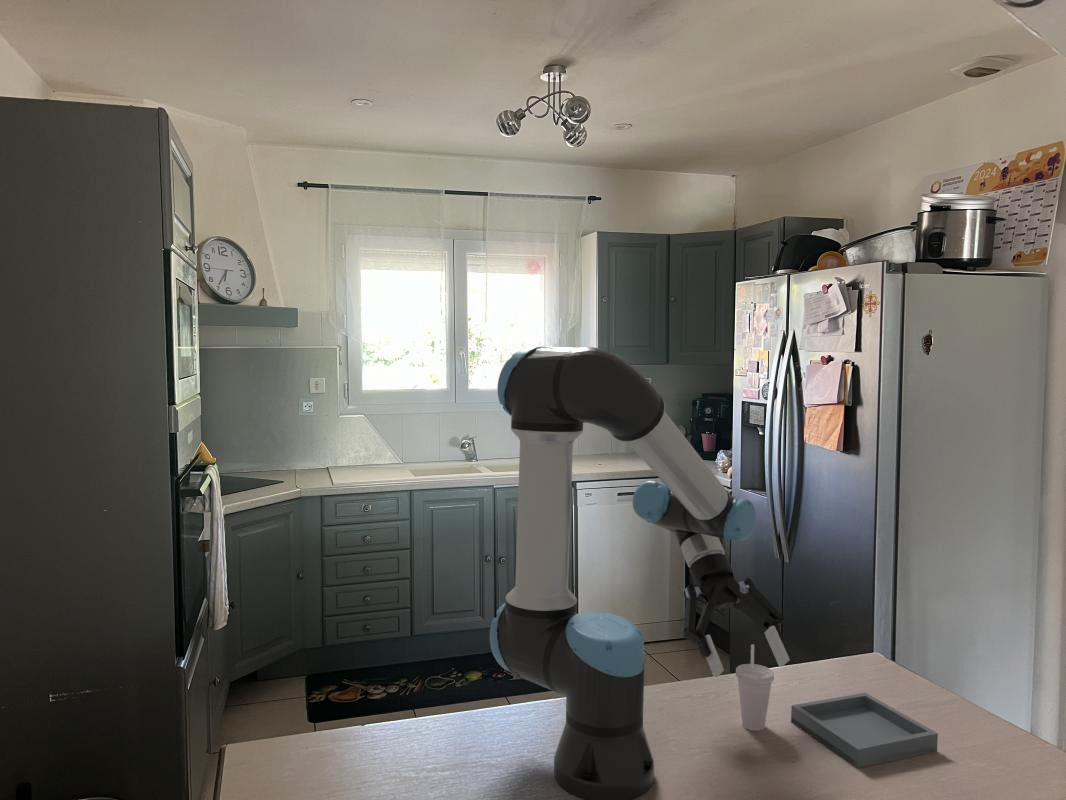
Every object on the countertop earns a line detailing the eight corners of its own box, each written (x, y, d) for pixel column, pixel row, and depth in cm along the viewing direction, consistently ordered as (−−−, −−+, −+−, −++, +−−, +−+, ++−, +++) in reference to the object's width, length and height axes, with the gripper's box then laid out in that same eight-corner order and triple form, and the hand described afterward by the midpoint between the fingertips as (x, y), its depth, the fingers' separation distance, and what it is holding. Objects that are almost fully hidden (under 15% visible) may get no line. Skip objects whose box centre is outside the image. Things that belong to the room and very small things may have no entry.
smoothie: (748, 713, 140) (750, 636, 139) (780, 727, 135) (782, 647, 134) (726, 724, 136) (728, 644, 135) (758, 738, 131) (760, 656, 130)
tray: (857, 768, 122) (858, 749, 122) (791, 722, 137) (791, 705, 137) (937, 751, 127) (937, 733, 127) (864, 708, 143) (865, 692, 142)
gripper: (753, 565, 158) (800, 667, 145) (642, 577, 149) (681, 687, 136) (770, 545, 152) (821, 650, 139) (656, 556, 144) (699, 669, 131)
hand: (752, 668), depth 138 cm, fingers open, 13 cm apart
